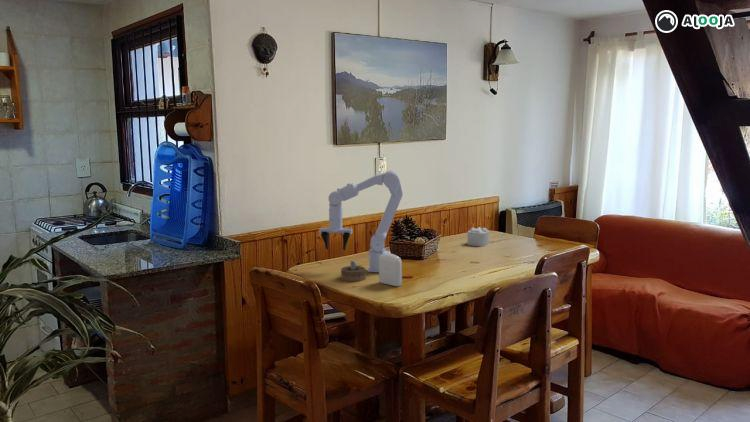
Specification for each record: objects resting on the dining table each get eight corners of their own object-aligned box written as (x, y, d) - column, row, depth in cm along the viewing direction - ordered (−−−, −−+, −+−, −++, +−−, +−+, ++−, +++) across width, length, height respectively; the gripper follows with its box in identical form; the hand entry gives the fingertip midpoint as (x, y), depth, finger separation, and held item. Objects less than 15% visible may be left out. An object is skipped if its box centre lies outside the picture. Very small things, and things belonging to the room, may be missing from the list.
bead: (367, 275, 248) (367, 266, 247) (362, 281, 238) (362, 272, 237) (344, 274, 250) (344, 265, 249) (339, 280, 240) (338, 271, 239)
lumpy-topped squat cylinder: (465, 244, 313) (465, 228, 311) (475, 240, 323) (475, 225, 322) (483, 247, 307) (483, 230, 306) (492, 243, 318) (493, 227, 316)
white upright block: (377, 282, 237) (377, 253, 235) (384, 280, 240) (384, 251, 238) (396, 287, 230) (396, 256, 228) (403, 285, 233) (403, 255, 231)
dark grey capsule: (356, 277, 245) (356, 261, 244) (356, 279, 243) (356, 262, 242) (351, 277, 245) (350, 261, 244) (350, 278, 243) (350, 262, 242)
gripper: (317, 219, 251) (317, 250, 253) (349, 220, 249) (350, 251, 251) (321, 217, 258) (321, 247, 260) (353, 218, 256) (353, 248, 258)
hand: (335, 249), depth 256 cm, fingers open, 7 cm apart
